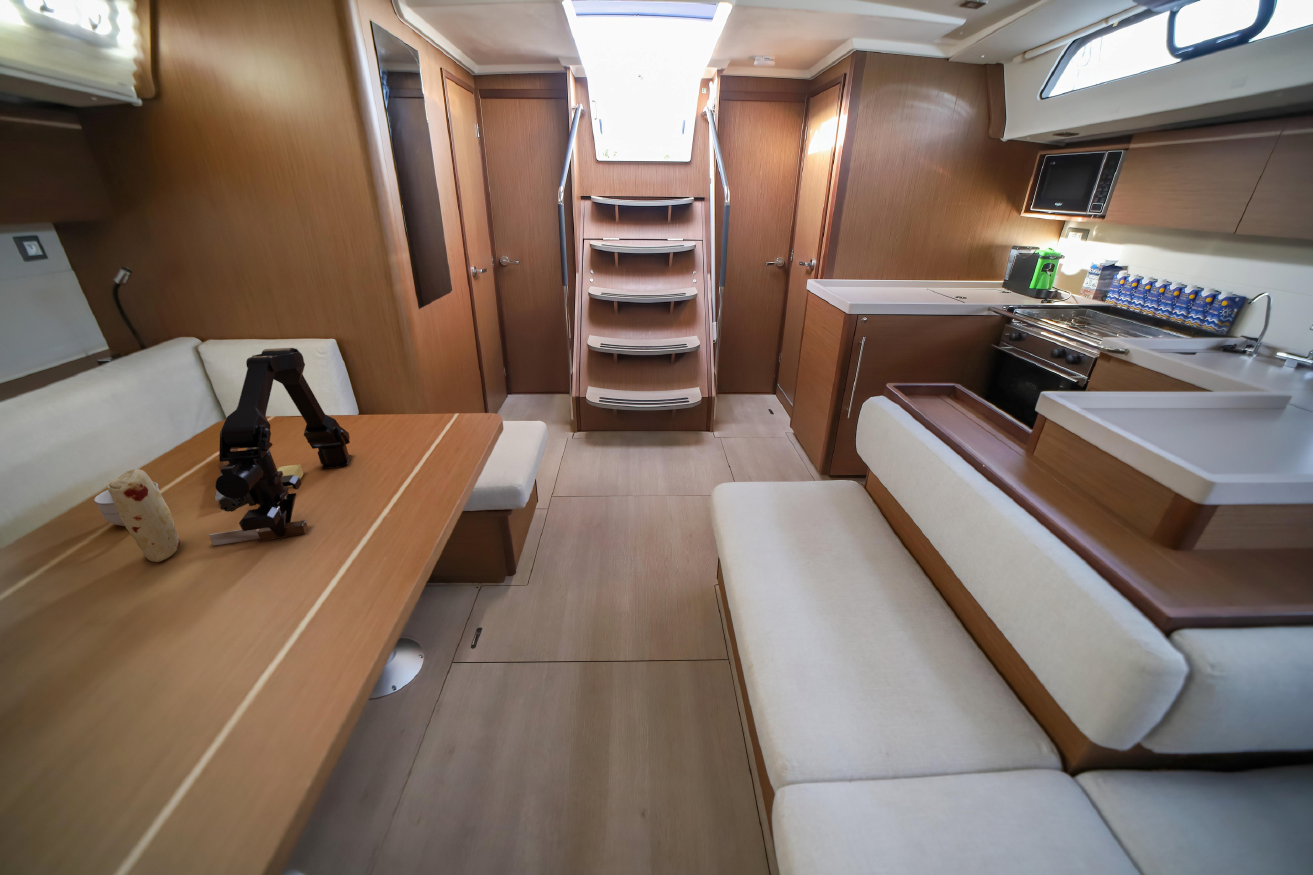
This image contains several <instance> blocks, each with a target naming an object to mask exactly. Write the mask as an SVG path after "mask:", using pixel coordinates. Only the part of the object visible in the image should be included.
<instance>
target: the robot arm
mask: <svg viewBox="0 0 1313 875" xmlns="http://www.w3.org/2000/svg"><path fill="white" fill-rule="evenodd" d="M245 363H246V368H247V369H246V374H245V377H244V381H243V385H242V388H241V391H240V396H239V399H238V403H237V407H236V409H234V410H233V411H232V412H231V413H230V414H229V415H228V416H226V417H225V420H224V422H223V424H222V427H221V430H220V432H219V452H218V453H219V455H218V460H219V463H220V462H223V461H229V464H228V465H226V466H224V467H223V468H222V469H221V471H220V475H221V473H222V475H221V476H220V475H219V476H218V478H217V479H216V481H215V485H214V487H215V489H216V492H217V491H218V492H219V493H220V494H221V495H223V497H222V498H221V499H220V500H219V501H218V502H219V503H218V505H219V506H220V508H219V509H220V510H221V511H224V512H227V513H229V512H235V511H236V510H237V509H239V508H241V507H244V506H247V505H248V507H255V506H257V505H258V507H257V508H253V509H249V510H247V512H246V513H245V514H244V515H243V516H242V518H241V520H240V521H239V523H238V524H239V527H240V530H243V531H249V530H255V529H257V530H259V529H262V528H270V529H271V530H272V531H273V532H274V533H275V534H276V535H277V536H278V537H282V536H284V535H285V524H286V523H289V522H292V518H293V513H294V512H293V511H294V507H295V502H296V499H297V498H296V497H297V493H296V492H293V493H290V492H289V491H290V489H289V487H288V486H291V485H292V486H293V487H292V489H294V490H299V489H300V487H301V486H302V481H301V479H300V478H299V477H297V476H295V475H288V476H283V473H282V471H277V470H278V469H277V465H276V463H275V460H274V457H273V455H272V453H271V450H270V449H271V447H273V443H272V442H271V436H272V432H271V423H270V422H269V420H268V418H267V417H266V416H267V410H268V405H269V402H270V398H271V392H272V388H273V385H274V384H273V383H274V381H276V382H278V383H280V384H281V385H283V387H284V389H285V391H286V392H287V394H288V396H289V398H290V399H291V401H292V402H293V404H294V405H295V407H296V409H297V410H298V412H299V413H300V415H301V417H302V418H303V420H304V422H305V424H306V425H305V428H304V432H303V436H304V437H305V439H306V441H307V443H308V444H309V446H310V447H311V449H313V450H315V449H318V450H317V456H318V459H319V462H320V465H321V469H322V470H326V469H333V468H335V469H336V468H342V467H347V466H349V463H350V461H351V459H352V457H353V456H352V455H351V454H349V451H348V447H347V445H348V444H350V443H351V440H350V433H349V431H347V430H346V429H344V428H343V427H342V426H341V425H340V424H339V422H338V421H337V419H335V418H334V417H332V416H329V415H328V414H326V413H325V412H324V410H323V408H322V406H321V404H320V403H319V401H318V399H317V397H316V395H315V394H314V391H313V390H312V389H311V387H310V385H309V383H308V382H307V380H306V378H305V375H303V374H304V370H305V366H306V363H305V360H304V356H303V354H302V353H301V352H300V351H299V349H298V348H294V347H281V348H278V347H277V348H265V349H263V350H262V351H261V353H258V354H254V355H251V356H250V357H247V359H246V362H245ZM231 449H238V451H230V450H231ZM239 449H245V450H239ZM282 538H283V537H282Z"/></svg>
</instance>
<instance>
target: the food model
mask: <svg viewBox="0 0 1313 875" xmlns="http://www.w3.org/2000/svg"><path fill="white" fill-rule="evenodd" d="M153 482H154V481H152V479H151V477H150V476H149V475H148V473H147V472H146V471H145V470H142V469H140V468H133V469H130V470H128V471H126V472H124V473H122V474H121V475H120V476H118V477H117V478H115V479H113V480H111V481H108V482H107V483H106V490H108V491H109V493H110V495H111V497H112V500H113V502H114V504H115V506H116V508H117V510H118V512H119V515H120V517H121V520H122V522H123V523H124V525H125V526H124V527H125V528H126V530H127V531H128V533H129V535H131V537H132V538H133V540H134V541H135V543H136V545H137V547H138V548H139V549H140V551H141V552H142V555H143V556H144V557H145V558H146V559H147V560H148V561H150V562H155V563H160V562H162V561H164V560H167V559H169V558H170V557H171V556H173V554H175V553H176V552H177V551H178V549H179V547H180V544H181V540H180V538H179V534H178V530H177V528H176V525H175V522H174V518H173V515H172V512H171V510H170V507H169V506H168V504H167V502H166V501H165V499H164V498H163V495H162V493H161V492H160V493H161V494H160V493H159V491H158V490H157V488H156V487H155V485H154V484H153Z"/></svg>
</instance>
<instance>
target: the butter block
mask: <svg viewBox="0 0 1313 875" xmlns="http://www.w3.org/2000/svg"><path fill="white" fill-rule="evenodd" d="M302 468H303V467H302V466H301V464H292V465H291V464H290V465H283V466H282V465H281V466H279V467H278V469H277V471H282V473H283V476H288V475H295V476H297V477H299V478H300V480H301V479H302V477H303V475H304V471H303V469H302ZM288 488H293V486H292V485H291V486H288Z"/></svg>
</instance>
